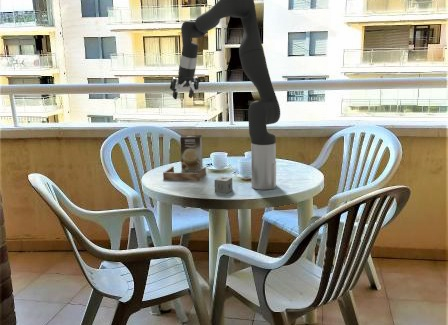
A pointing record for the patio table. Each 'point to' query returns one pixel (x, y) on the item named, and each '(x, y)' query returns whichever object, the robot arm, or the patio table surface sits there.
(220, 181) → the dice cube
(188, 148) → the coffee box
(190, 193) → the patio table surface
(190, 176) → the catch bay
